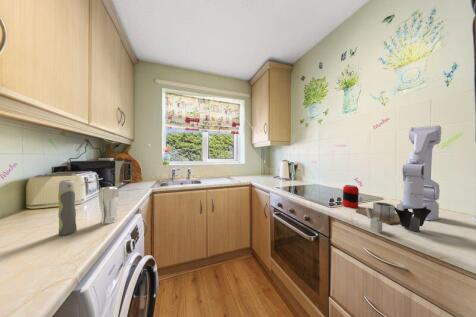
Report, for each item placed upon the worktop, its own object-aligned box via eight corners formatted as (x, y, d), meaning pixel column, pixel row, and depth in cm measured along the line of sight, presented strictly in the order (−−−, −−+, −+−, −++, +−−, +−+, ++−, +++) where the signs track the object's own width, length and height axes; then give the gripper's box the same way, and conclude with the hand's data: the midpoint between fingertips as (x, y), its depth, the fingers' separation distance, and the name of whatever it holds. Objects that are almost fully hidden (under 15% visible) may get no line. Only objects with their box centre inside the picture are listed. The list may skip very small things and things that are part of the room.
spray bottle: (61, 237, 62) (59, 182, 62) (56, 234, 65) (55, 180, 64) (78, 231, 67) (77, 180, 66) (73, 229, 69) (72, 179, 68)
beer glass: (122, 220, 79) (122, 187, 78) (105, 225, 72) (104, 190, 72) (113, 217, 81) (112, 185, 81) (96, 222, 75) (95, 188, 75)
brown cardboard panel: (379, 210, 95) (379, 199, 95) (415, 221, 80) (415, 208, 79) (355, 212, 91) (356, 200, 91) (388, 224, 76) (388, 210, 76)
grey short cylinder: (409, 226, 74) (409, 215, 73) (422, 231, 69) (422, 219, 69) (401, 227, 73) (402, 216, 72) (414, 232, 68) (414, 220, 68)
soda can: (343, 203, 107) (343, 184, 106) (358, 205, 102) (358, 185, 102) (342, 206, 101) (342, 186, 100) (357, 209, 96) (358, 187, 96)
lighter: (382, 233, 68) (383, 212, 67) (377, 232, 68) (378, 212, 67) (368, 225, 75) (369, 207, 75) (364, 225, 75) (365, 207, 75)
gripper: (414, 190, 76) (412, 220, 76) (388, 191, 73) (387, 223, 73) (435, 194, 69) (434, 227, 70) (409, 196, 66) (407, 231, 66)
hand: (411, 226), depth 71 cm, fingers open, 7 cm apart
